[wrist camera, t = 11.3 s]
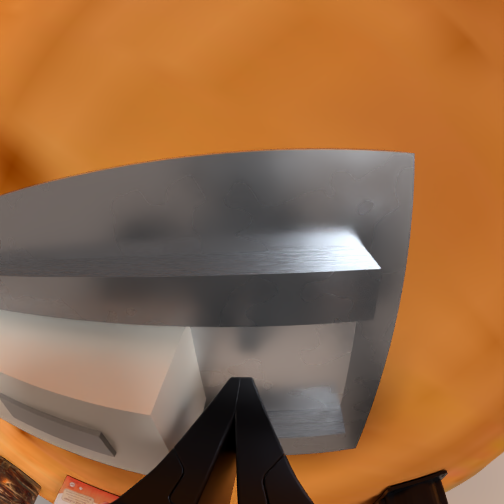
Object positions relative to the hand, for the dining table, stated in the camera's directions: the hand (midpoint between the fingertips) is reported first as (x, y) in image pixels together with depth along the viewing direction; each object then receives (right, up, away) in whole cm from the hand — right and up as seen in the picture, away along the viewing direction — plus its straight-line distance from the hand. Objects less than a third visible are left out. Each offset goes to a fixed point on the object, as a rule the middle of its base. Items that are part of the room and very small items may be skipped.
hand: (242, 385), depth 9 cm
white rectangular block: (-8, 0, +2) cm, 8 cm away
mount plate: (-5, +1, +3) cm, 6 cm away
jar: (-50, -43, +23) cm, 69 cm away
